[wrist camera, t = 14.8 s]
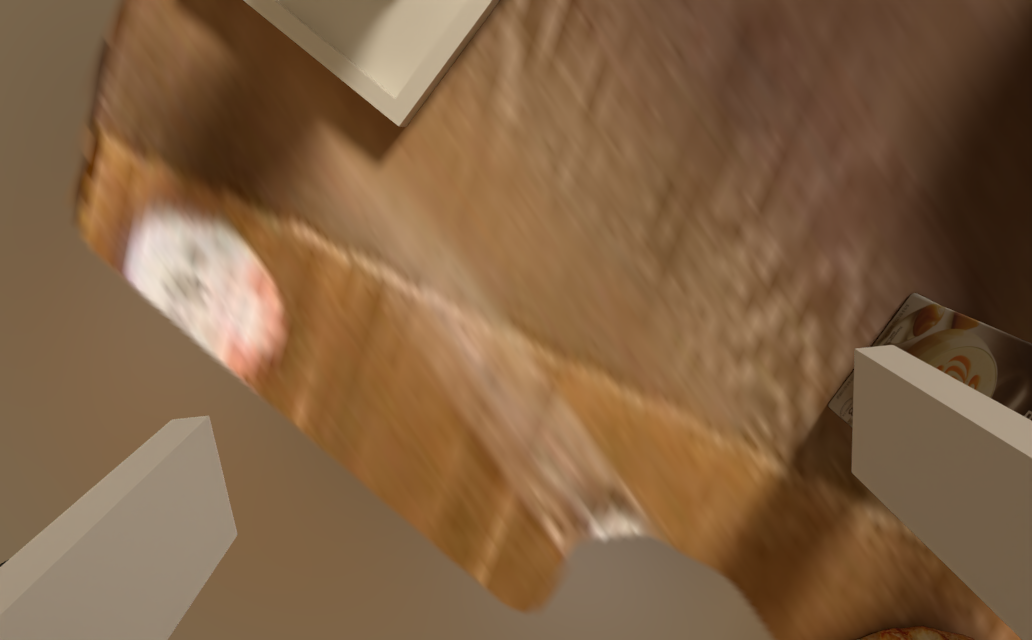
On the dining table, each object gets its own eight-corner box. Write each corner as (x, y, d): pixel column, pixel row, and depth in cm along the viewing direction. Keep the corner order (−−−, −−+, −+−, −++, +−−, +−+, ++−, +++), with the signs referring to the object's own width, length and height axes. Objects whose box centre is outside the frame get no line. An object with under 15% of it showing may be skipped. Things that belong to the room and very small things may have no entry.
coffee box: (909, 287, 43) (1137, 374, 27) (988, 335, 44) (1253, 445, 28) (822, 407, 45) (989, 551, 30) (900, 450, 46) (1101, 612, 30)
